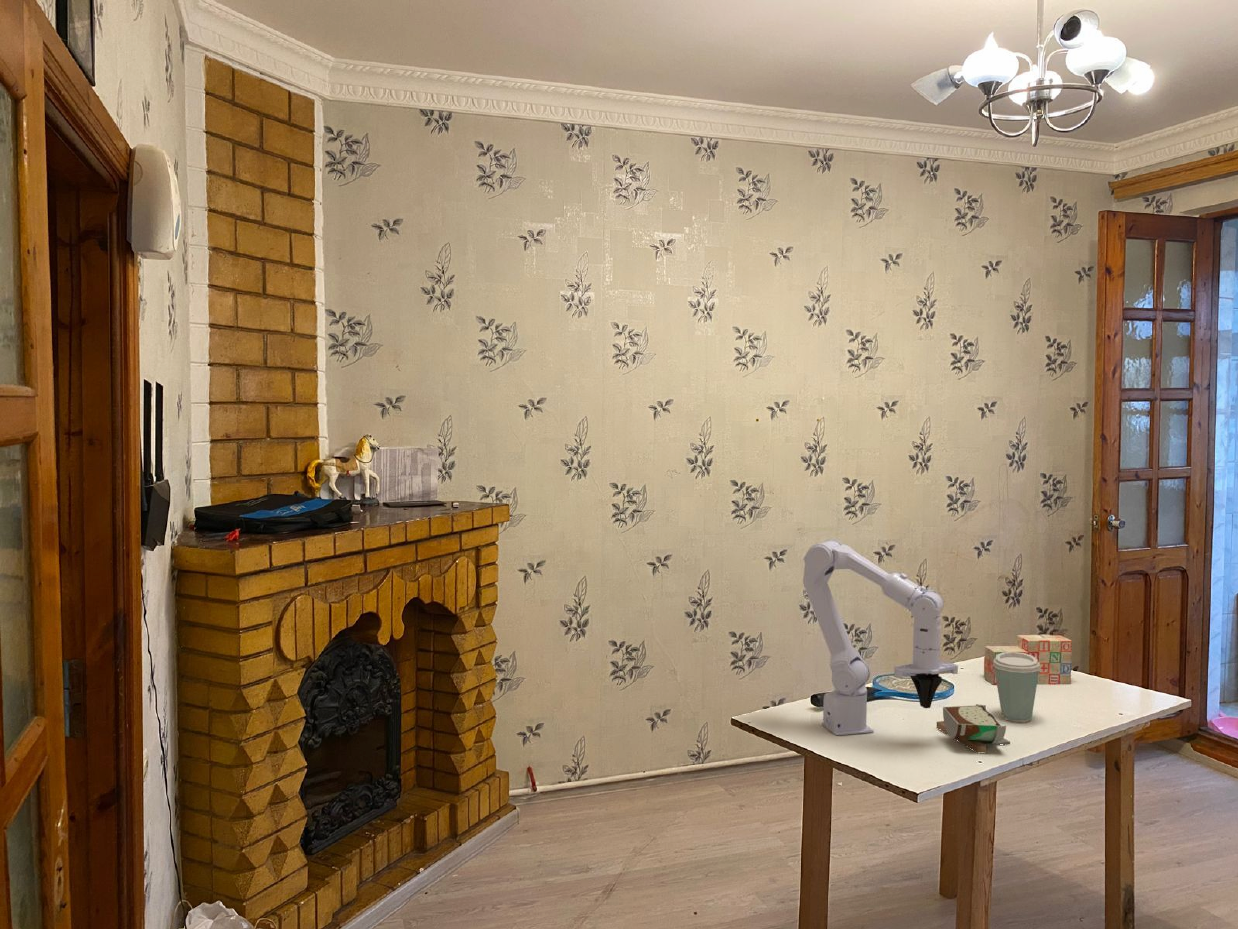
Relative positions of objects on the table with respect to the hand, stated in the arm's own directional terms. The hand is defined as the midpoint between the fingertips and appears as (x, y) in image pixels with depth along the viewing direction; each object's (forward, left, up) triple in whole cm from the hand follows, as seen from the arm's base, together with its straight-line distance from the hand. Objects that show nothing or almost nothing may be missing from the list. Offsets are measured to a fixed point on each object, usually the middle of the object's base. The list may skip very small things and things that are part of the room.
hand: (925, 706), depth 203 cm
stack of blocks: (+52, +36, -9) cm, 64 cm away
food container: (+5, -2, -5) cm, 7 cm away
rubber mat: (+14, +1, -8) cm, 16 cm away
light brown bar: (+9, 0, -8) cm, 12 cm away
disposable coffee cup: (+30, +10, -8) cm, 33 cm away
